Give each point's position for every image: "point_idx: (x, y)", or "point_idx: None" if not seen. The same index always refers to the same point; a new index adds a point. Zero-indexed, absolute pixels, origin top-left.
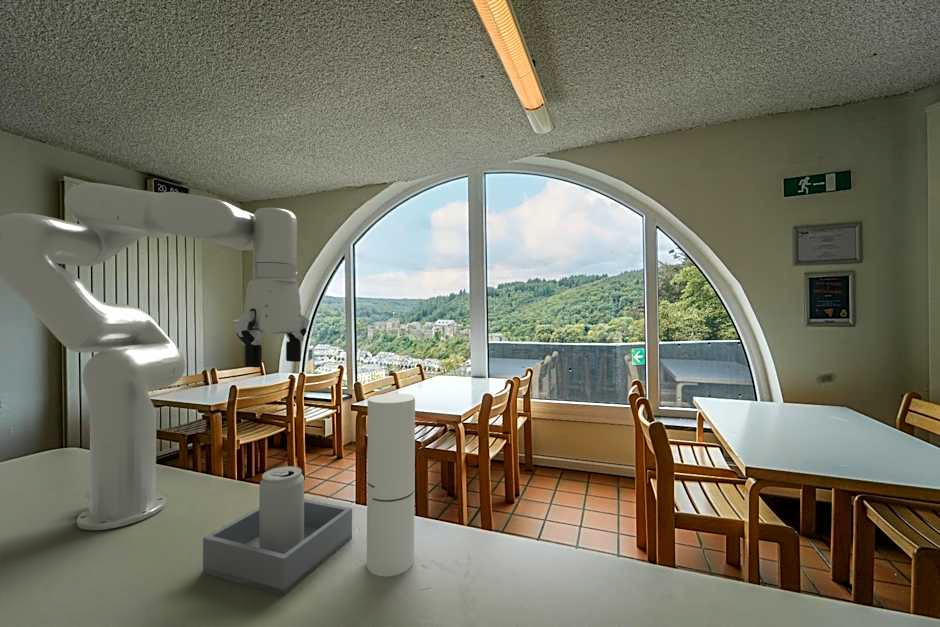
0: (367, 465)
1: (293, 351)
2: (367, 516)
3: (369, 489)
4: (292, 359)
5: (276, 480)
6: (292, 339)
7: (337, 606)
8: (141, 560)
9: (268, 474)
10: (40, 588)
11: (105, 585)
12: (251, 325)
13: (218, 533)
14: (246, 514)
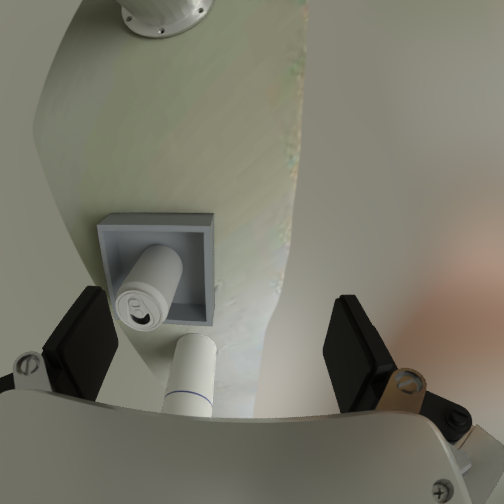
0: (166, 407)
1: (337, 366)
2: (174, 368)
3: (166, 392)
4: (329, 333)
5: (120, 318)
6: (366, 409)
7: (138, 337)
8: (100, 132)
9: (126, 298)
10: (52, 101)
11: (69, 148)
12: (30, 450)
13: (109, 230)
14: (149, 225)
